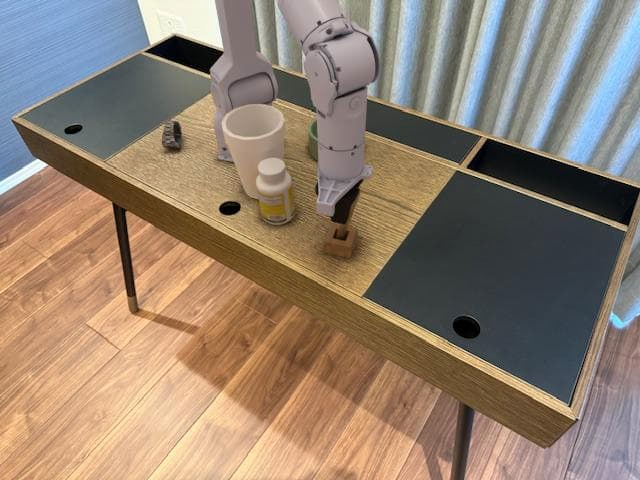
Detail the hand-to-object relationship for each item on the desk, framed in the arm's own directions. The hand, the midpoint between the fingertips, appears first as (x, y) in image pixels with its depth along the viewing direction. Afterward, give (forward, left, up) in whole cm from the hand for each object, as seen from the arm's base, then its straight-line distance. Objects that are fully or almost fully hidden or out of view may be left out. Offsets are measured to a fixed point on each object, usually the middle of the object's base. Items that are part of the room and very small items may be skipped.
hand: (340, 217), depth 68 cm
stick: (0, 0, -4) cm, 4 cm away
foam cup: (-16, +9, -6) cm, 20 cm away
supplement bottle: (-11, +4, -6) cm, 14 cm away
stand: (0, 0, -6) cm, 6 cm away
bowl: (-7, +23, -6) cm, 25 cm away
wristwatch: (-36, +16, -6) cm, 40 cm away
